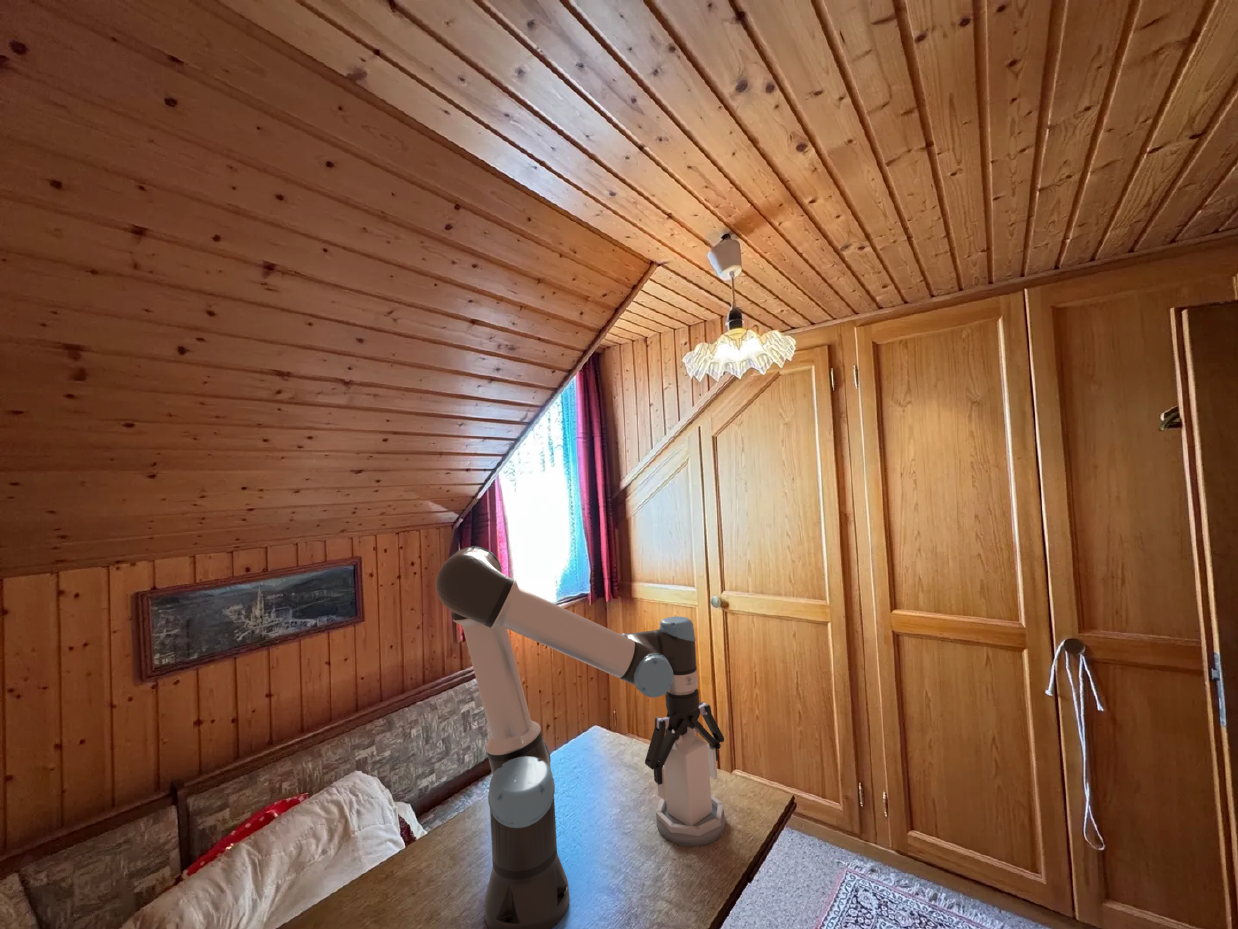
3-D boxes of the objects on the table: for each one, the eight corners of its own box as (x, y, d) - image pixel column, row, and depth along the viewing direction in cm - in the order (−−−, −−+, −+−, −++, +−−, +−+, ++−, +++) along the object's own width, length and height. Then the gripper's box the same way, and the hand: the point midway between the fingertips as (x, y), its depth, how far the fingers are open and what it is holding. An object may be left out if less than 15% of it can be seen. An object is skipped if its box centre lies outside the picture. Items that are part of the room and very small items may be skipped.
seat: (682, 856, 103) (681, 840, 103) (643, 817, 116) (643, 802, 116) (739, 828, 110) (738, 813, 110) (697, 794, 123) (696, 780, 123)
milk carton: (688, 799, 118) (683, 715, 119) (712, 813, 112) (706, 724, 113) (666, 813, 113) (661, 725, 114) (690, 828, 108) (684, 736, 109)
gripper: (643, 709, 105) (650, 816, 104) (735, 680, 117) (742, 775, 116) (625, 697, 111) (631, 798, 110) (713, 671, 124) (720, 761, 123)
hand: (688, 786), depth 113 cm, fingers open, 13 cm apart
